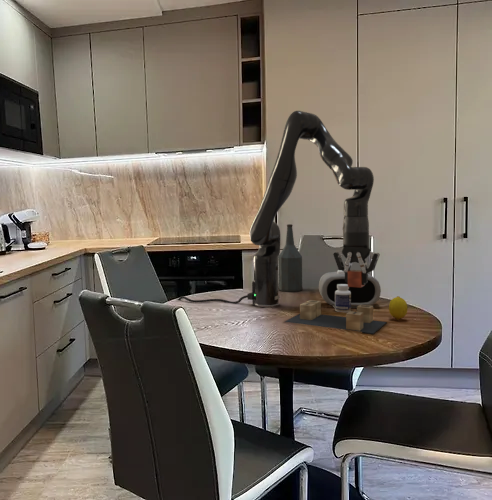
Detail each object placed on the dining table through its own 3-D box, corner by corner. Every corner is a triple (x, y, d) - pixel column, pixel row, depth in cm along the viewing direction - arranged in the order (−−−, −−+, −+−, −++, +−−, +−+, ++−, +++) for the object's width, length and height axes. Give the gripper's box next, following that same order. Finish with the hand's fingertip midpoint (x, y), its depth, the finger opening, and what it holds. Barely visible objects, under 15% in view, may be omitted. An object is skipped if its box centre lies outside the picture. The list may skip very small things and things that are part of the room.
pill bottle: (352, 313, 174) (352, 286, 173) (336, 312, 175) (336, 286, 174) (349, 309, 179) (349, 283, 178) (333, 309, 180) (333, 283, 179)
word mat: (284, 322, 164) (284, 321, 164) (302, 313, 176) (302, 312, 176) (373, 334, 146) (373, 333, 146) (386, 323, 158) (386, 321, 158)
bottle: (280, 292, 217) (279, 225, 214) (277, 288, 227) (276, 224, 224) (304, 292, 215) (303, 224, 212) (300, 288, 225) (299, 223, 222)
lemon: (405, 318, 163) (406, 294, 163) (408, 322, 158) (409, 298, 157) (387, 317, 165) (387, 294, 164) (389, 321, 160) (390, 297, 159)
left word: (299, 318, 167) (299, 304, 166) (309, 313, 174) (309, 299, 173) (311, 320, 164) (311, 305, 164) (321, 315, 171) (320, 300, 171)
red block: (347, 286, 155) (347, 270, 155) (351, 284, 158) (351, 269, 158) (360, 287, 152) (360, 271, 152) (364, 285, 155) (364, 269, 155)
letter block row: (346, 329, 152) (346, 313, 151) (360, 319, 163) (360, 304, 163) (359, 331, 149) (359, 314, 149) (373, 320, 161) (373, 305, 160)
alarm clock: (321, 308, 183) (321, 273, 182) (318, 302, 192) (318, 269, 191) (381, 308, 178) (381, 272, 177) (375, 303, 187) (375, 268, 186)
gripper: (383, 229, 152) (383, 284, 154) (336, 229, 161) (337, 281, 163) (376, 231, 146) (376, 287, 148) (329, 231, 155) (329, 284, 157)
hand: (356, 283), depth 155 cm, fingers closed on red block, 4 cm apart
